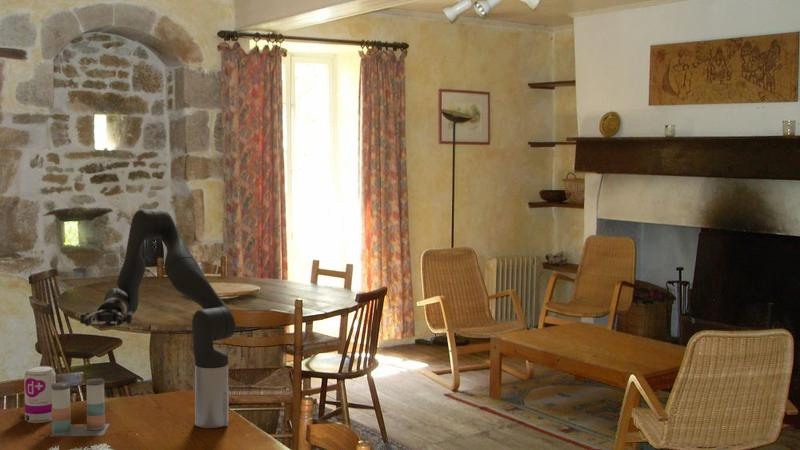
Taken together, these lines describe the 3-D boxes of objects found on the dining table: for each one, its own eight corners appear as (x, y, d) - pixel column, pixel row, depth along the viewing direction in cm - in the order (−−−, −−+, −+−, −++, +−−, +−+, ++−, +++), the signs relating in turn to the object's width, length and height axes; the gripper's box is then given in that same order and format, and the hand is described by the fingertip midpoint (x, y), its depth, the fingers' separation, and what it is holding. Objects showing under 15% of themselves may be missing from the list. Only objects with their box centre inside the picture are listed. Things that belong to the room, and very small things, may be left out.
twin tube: (72, 429, 251) (72, 382, 250) (68, 435, 246) (68, 386, 245) (54, 429, 250) (53, 382, 249) (50, 435, 245) (49, 387, 244)
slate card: (109, 425, 257) (109, 423, 257) (103, 437, 247) (103, 435, 247) (57, 426, 255) (57, 424, 255) (49, 438, 245) (49, 436, 245)
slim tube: (106, 425, 255) (106, 378, 254) (103, 430, 250) (102, 382, 249) (89, 425, 254) (88, 378, 254) (85, 430, 250) (84, 382, 249)
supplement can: (45, 426, 255) (44, 373, 254) (18, 423, 257) (18, 371, 255) (61, 417, 263) (61, 366, 261) (35, 415, 265) (35, 364, 263)
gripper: (87, 299, 275) (76, 309, 259) (136, 299, 277) (128, 309, 261) (88, 323, 276) (76, 335, 260) (136, 323, 278) (128, 335, 262)
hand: (102, 322), depth 261 cm, fingers open, 8 cm apart
